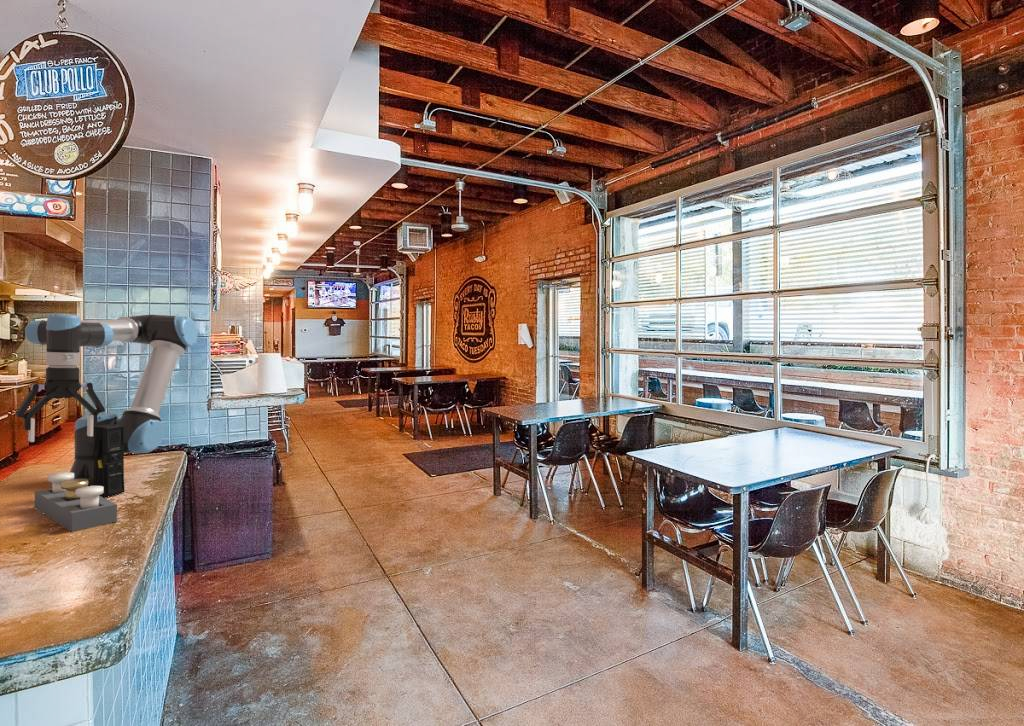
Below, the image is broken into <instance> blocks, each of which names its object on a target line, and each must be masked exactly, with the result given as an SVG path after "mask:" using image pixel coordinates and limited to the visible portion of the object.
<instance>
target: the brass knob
mask: <svg viewBox="0 0 1024 726" xmlns="http://www.w3.org/2000/svg"><path fill="white" fill-rule="evenodd" d="M87 486H88V479H72V480H67V481H63V482H61V489H65V490H66V501H72V500H78V499H80V497H76V489H78V488H82V487H87Z"/></svg>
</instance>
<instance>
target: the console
mask: <svg viewBox="0 0 1024 726" xmlns="http://www.w3.org/2000/svg"><path fill="white" fill-rule="evenodd" d="M35 508H36V509H35ZM34 509H35V510H37V511H38V510H39V511H38V512H40V513H41V512H42V513H41V514H43V513H44V514H45V516H46V515H47V516H46V517H48V518H49V517H50V518H49V519H51V520H53V521H54V522H55V523H58V524H59V525H61V526H62V527H63V528H65V529H67V530H68V531H70V532H71V531H72V532H73V531H74V532H78V531H82V529H83V530H86V529H91V528H92V529H93V528H95V527H96V526H97V527H100V525H101V526H105V525H104V524H106V525H110V524H113V523H112V522H115V523H118V504H117V503H115V502H114V501H112V500H109V499H107V498H103V497H101V496H99V506H98V507H93V508H88V509H83V510H82V509H80V499H78V500H72V501H66V492H61V493H55V494H53V493H52V488H47V489H42V490H35V491H34ZM44 514H43V515H44ZM109 523H110V524H109ZM77 530H78V531H77Z"/></svg>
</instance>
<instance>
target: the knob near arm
mask: <svg viewBox="0 0 1024 726" xmlns="http://www.w3.org/2000/svg"><path fill="white" fill-rule="evenodd" d="M72 479H74V473H71V472H70V471H69V472H68V471H65V472H56V473H52V474H49V475H47V482H48V483H51V485H52V486H51V487H52V488H51V489H52V493H53V494H55V493H61V492H66V490H65V489H61V482H63V481H67V480H72Z"/></svg>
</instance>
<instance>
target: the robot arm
mask: <svg viewBox="0 0 1024 726" xmlns="http://www.w3.org/2000/svg"><path fill="white" fill-rule="evenodd" d="M24 335H25V338H26V339H27V340H28V342H30V343H32V344H34V345H40V346H45V345H46V349H45V350H46V351H45V365H46V366H48V367H47V368H45V382H44V384H42V383H41V384H37V383H35V382H34V383H31V384H30V388H29V391H28V394H26V396H25V397H24V399H23V401H21V404H20V405H19V407H18V409H17V410H16V411H15V413H14V416H15V417H18V418H22V419H23V430H25V431H27V435H28V436H27V437H28V438H27V441H28V442H29V443H34V442H35V436H36V435H35V432H36V431H35V427H36V424H35V421H36V419H35V418H33V417H34V416H35V415H36V414H37V413H38V412H39V411H40V410H41V409H42V408H43V407H44V406H45V405H46V404H48V403H49V402H50V401H52V400H53V399H55V400H56V399H57V400H58V399H71V398H74V399H75V400H76V402H78V403H79V404H80V405H81V406H82V407H84V408H85V410H87V411H88V412H89V413H88V414H87V415H86V416H83V417H80V418H77V419H76V421H75V424H74V425H75V426H74V430H73V432H74V461H73V464H72V466H71V468H70V471H69V472H71V473H74V479H88V485H90V486H93V485H94V457H93V455H94V435H93V427H94V426H101V425H108V424H114V422H115V417H116V422H117V424H123V425H124V453H127V454H131V453H132V454H134V455H135V454H148V453H151V452H152V451H154V450H156V449H157V448H158V447H159V446H160V445H161V444H162V442H163V439H164V437H165V431H164V430H165V426H164V423H163V422H162V417H161V416H160V414H159V413H160V409H161V407H162V404H163V402H164V398H165V395H166V393H167V390H168V387H169V384H170V382H171V379H172V376H173V373H174V370H175V368H176V365H177V361H178V360H179V357H180V356H182V355H185V353H186V350H187V347H188V348H191V347H193V346H194V345H195V344H196V343H197V341H198V329H197V325H196V324H195V322H194V320H193V319H192V318H191V317H188V316H185V315H184V316H183V315H179V314H177V315H166V314H165V315H164V314H141V315H132V316H121V317H119V318H117V319H85V320H83V319H82V320H81V317H80V316H79V315H78V314H67V313H65V314H64V313H51V314H49V315H48V316H47V319H46V320H45V319H40V320H32V321H30V322H28V323H27V325H26V326H25V328H24ZM114 341H118V342H121V343H126V344H128V343H133V344H134V343H137V344H145V345H150V348H152V350H151V353H150V356H149V358H148V360H147V363H146V367H145V368H144V371H143V373H142V376H141V379H140V382H139V385H138V386H137V387H138V388H137V389H136V392H135V395H134V398H133V400H132V403H131V405H130V407H129V408H128V409H125V410H123V413H122V415H121V417H120V418H118V414H117V413H106V414H105V411H106V409H105V407H104V405H103V403H102V402H101V400H100V398H99V397H98V395H97V394H96V392H95V390H94V385H93V383H92V382H88V381H86V382H83V383H81V382H80V368H79V367H78V366H80V359H81V357H80V352H81V351H80V350H81V347H92V348H94V347H95V348H101V347H106V346H109V345H110V344H112V342H114ZM81 388H82V389H83V390H85V392H86V393H87V395H88V397H89V398H90V400H91V402H92V404H93V405H94V406H92V405H91V404H90V403H89V402H88V401H87V400H86V399H85V398H84V397H83V396H82V395H81V394H80V393H79V390H81ZM42 390H44V391H45V392H46V393H45V394H44V395H43V396H42V397H41V399H39V400H38V401H37V402H36V403H35V404H34V405H33V406H31V408H30V409H29V407H30V405H31V404H32V402H33V401H34V399H35V398H36V396H37V395H38V392H41V391H42ZM100 413H104V414H100Z"/></svg>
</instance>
